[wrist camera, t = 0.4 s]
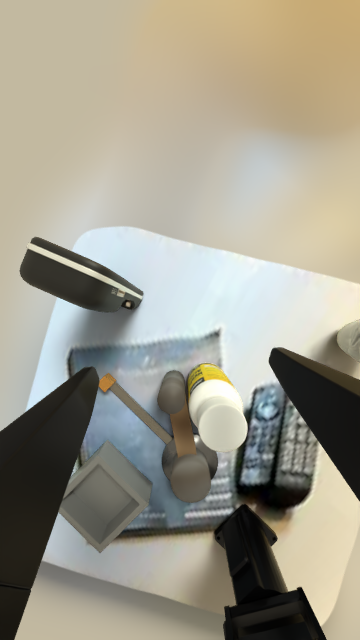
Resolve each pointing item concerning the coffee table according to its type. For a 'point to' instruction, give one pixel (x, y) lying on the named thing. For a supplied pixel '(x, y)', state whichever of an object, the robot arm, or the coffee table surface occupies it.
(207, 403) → the supplement bottle
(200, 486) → the crank
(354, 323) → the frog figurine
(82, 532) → the tray
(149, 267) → the coffee table surface
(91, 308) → the battery charger
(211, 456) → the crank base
